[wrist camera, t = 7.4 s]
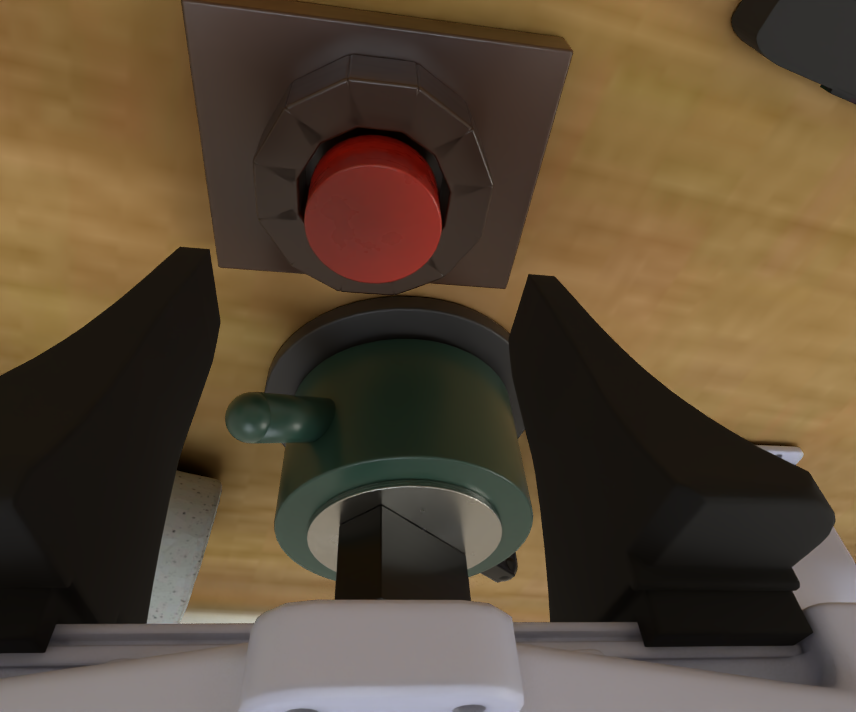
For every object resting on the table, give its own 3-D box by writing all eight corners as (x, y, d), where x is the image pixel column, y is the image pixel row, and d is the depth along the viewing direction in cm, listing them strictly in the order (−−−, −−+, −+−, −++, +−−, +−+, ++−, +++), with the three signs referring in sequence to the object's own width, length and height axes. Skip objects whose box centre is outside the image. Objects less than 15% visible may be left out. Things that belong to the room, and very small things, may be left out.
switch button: (446, 141, 15) (452, 172, 14) (428, 254, 18) (432, 288, 17) (309, 126, 15) (302, 157, 14) (310, 244, 17) (304, 279, 16)
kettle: (579, 451, 28) (638, 649, 22) (424, 521, 32) (435, 707, 26) (353, 234, 19) (336, 465, 13) (174, 369, 23) (91, 599, 16)
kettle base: (425, 240, 21) (426, 253, 20) (579, 407, 28) (583, 420, 27) (208, 389, 25) (204, 403, 25) (385, 499, 32) (386, 512, 32)
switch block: (564, 36, 16) (591, 74, 14) (501, 270, 22) (514, 322, 20) (191, -14, 15) (159, 19, 13) (224, 248, 20) (206, 302, 18)
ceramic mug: (45, 409, 26) (-47, 581, 20) (233, 451, 28) (196, 611, 23) (40, 522, 32) (-30, 673, 27) (193, 546, 35) (157, 688, 30)
